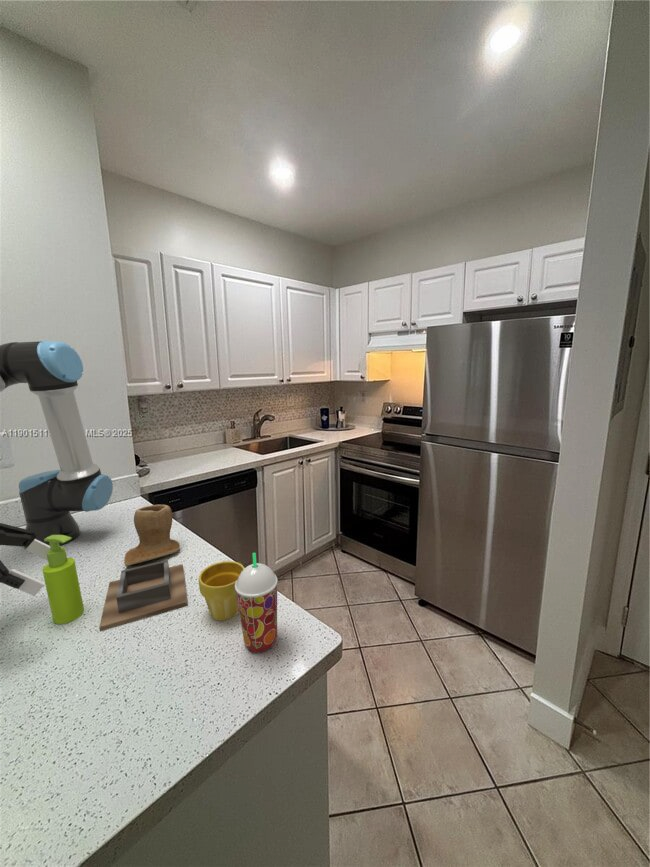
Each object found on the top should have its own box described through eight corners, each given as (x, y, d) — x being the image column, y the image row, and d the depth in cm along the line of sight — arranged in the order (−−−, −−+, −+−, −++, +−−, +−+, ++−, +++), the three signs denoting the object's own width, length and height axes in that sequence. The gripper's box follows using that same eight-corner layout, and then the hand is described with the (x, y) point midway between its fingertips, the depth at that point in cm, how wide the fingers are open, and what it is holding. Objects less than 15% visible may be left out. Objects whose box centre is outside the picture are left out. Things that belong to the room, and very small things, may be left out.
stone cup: (175, 539, 117) (170, 496, 114) (182, 555, 107) (176, 509, 104) (123, 553, 109) (116, 508, 106) (125, 572, 99) (117, 522, 96)
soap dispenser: (72, 626, 79) (55, 544, 75) (46, 622, 80) (29, 542, 76) (93, 608, 84) (79, 531, 80) (69, 605, 86) (54, 529, 82)
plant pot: (256, 600, 85) (253, 564, 83) (232, 631, 76) (228, 590, 74) (220, 592, 89) (216, 557, 87) (192, 621, 79) (187, 582, 77)
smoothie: (243, 628, 76) (235, 544, 72) (282, 625, 77) (276, 541, 73) (237, 660, 68) (228, 567, 64) (280, 656, 69) (274, 563, 65)
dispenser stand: (110, 585, 93) (107, 568, 92) (183, 567, 100) (181, 551, 99) (99, 631, 77) (96, 610, 76) (187, 605, 84) (185, 586, 83)
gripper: (-40, 514, 80) (53, 558, 89) (-119, 572, 57) (15, 623, 66) (-15, 488, 81) (74, 534, 90) (-82, 534, 59) (45, 590, 67)
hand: (49, 572), depth 78 cm, fingers open, 13 cm apart
